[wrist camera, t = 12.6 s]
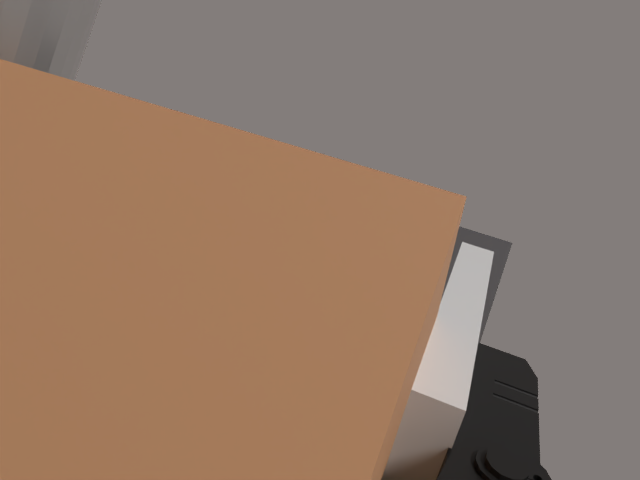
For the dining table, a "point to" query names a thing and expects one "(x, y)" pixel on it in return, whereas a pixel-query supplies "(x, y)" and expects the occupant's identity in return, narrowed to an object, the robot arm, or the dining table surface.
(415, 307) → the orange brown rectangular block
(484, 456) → the robot arm
